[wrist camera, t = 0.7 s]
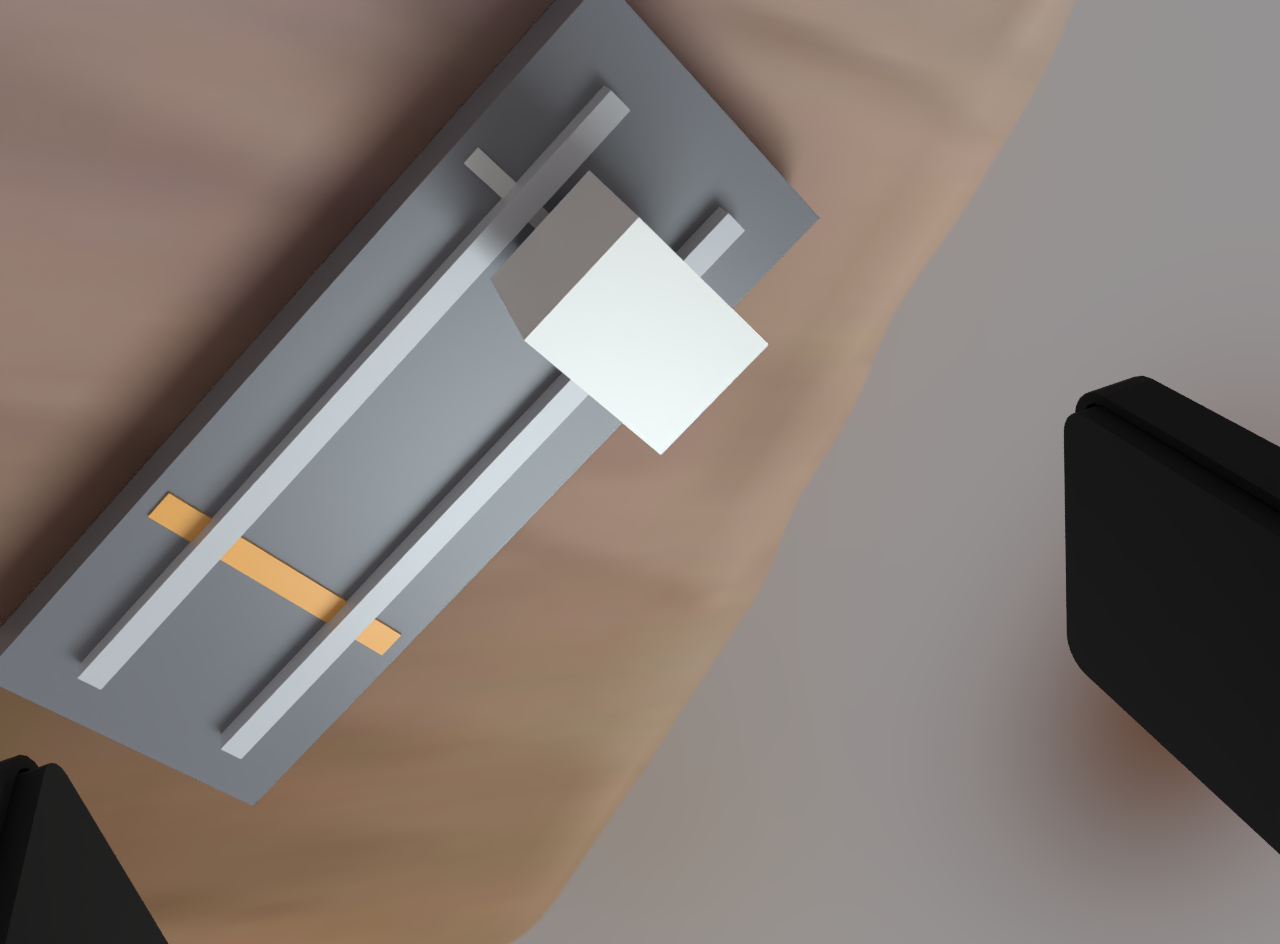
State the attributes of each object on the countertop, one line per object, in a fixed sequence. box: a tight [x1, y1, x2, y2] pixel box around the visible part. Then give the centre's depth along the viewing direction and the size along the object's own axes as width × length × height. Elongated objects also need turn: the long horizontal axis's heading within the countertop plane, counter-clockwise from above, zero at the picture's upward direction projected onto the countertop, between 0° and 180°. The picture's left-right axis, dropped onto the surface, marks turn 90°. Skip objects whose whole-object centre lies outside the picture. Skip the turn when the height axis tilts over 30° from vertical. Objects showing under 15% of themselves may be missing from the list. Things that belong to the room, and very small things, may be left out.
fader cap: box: [490, 170, 769, 455], centre depth 32 cm, size 4×5×7 cm
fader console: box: [0, 0, 819, 806], centre depth 37 cm, size 28×10×3 cm, turn 134°
